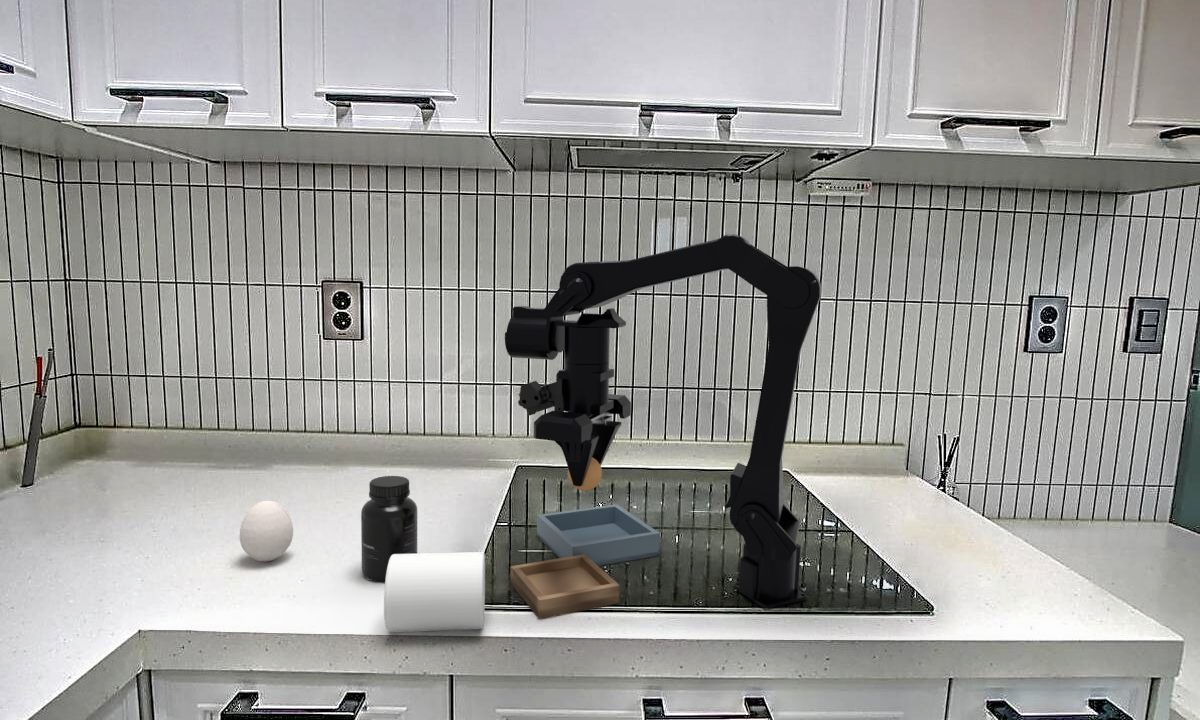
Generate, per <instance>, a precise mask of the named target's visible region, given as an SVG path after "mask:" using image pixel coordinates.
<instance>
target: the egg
mask: <svg viewBox="0 0 1200 720" xmlns="http://www.w3.org/2000/svg"><path fill="white" fill-rule="evenodd" d="M293 537H294V525H293V521H292V518H291V516H290V514H289V513H288V511H287V510H286V509H285V508H284V506H282V505H281V504H280V503H278V502H275V501H274V500H273V501H272V500H263V501H260V502H257V503H255V504H254V505H252V506H251V508H250V509H249V510H247V512H246V514H245V516H244V518H243V520H242V521H241V524H240V528H239V543H240V546H241V548H242V550H243V552H244V553H245V554H247V556H249V557H250V558H251V559H253V560H255V561H259V562H271V561H274V560H276V559H277V558H279V557H281V556H282V555H283V554H284V553H286V552H287V550H288V549H289V547H290V546H291V544H292V541H293Z"/></svg>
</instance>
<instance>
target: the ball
mask: <svg viewBox="0 0 1200 720" xmlns="http://www.w3.org/2000/svg"><path fill="white" fill-rule="evenodd" d="M602 477H603V469H602V465H601V466H600V464H599V462H598V461H597V460H596V459H594V458H593V457H592V459H591V462H590V465H589V468H588V471H587V474H586V477H585V479H584V482H583V485H582V486H580V487H579V486H574V485H573V482H572V479H571V476H570V472H569V469H568V468H567V478H568V481H569V483H570V485H572V487H574V488H575V489H576V490H579V491H591V490H593V489H595V488H596V487H597V486H598V485H599V484H600V482H601V480H602Z"/></svg>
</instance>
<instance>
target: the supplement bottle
mask: <svg viewBox="0 0 1200 720" xmlns="http://www.w3.org/2000/svg"><path fill="white" fill-rule="evenodd" d="M368 488H369V491H368V498H370V499H369V500H368V501H366V502H365V503H364V504H363V506H362V509H361V515H360V517H361V519H360V521H361V523H360V524H361V525H360V528H361V533H360V534H361V535H360V537H361V541H360V542H361V545H360V547H361V573H362V575H363V576H364V578H366V579H368V580H370V581H373V582H376V583H385V579H386V572H387V566H388V562H389V559H390V557H391V556H392V555H393V554H418V506H417V504H416V502H415V501H414V500H413V499H412V498H410V497H409V496H410V495H411V490H410V480H409V478H407V477H405V476H400V475H383V476H379V477H376V478H373V479H371V480H370V481H369V487H368Z"/></svg>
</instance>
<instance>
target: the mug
mask: <svg viewBox="0 0 1200 720" xmlns="http://www.w3.org/2000/svg"><path fill="white" fill-rule="evenodd" d="M383 590H384V594H383V595H384V597H383V617H384V620H383V621H384V626H385V629H386V631H387V632H388V633H403V632H404V633H405V632H407V633H408V632H429V631H430V632H434V631H458V630H481V629H483V628H484V624H485V607H486V606H485V605H486V604H485V603H486V602H485V601H486V599H485V598H486V555H485V552H483V551H472V552H471V551H469V552H468V551H467V552H466V551H465V552H464V551H463V552H461V551H460V552H428V553H427V552H425V553H423V552H422V553H417V554H393V555H392V556H391V557H390V559H389V562H388V566H387V572H386V579H385V582H384V589H383Z"/></svg>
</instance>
